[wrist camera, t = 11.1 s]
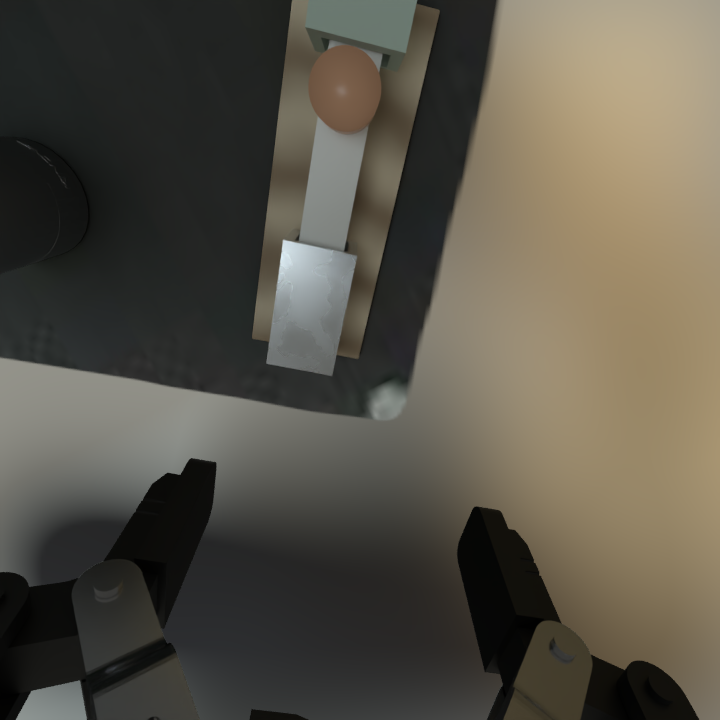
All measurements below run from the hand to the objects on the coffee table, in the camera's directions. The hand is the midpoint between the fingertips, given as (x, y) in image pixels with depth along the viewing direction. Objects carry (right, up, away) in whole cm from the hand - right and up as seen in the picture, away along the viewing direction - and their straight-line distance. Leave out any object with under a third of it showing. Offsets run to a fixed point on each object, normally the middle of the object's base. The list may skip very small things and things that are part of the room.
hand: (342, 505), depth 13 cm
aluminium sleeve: (-3, +10, +25) cm, 27 cm away
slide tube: (-1, +20, +19) cm, 28 cm away
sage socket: (+1, +27, +17) cm, 32 cm away
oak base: (-2, +18, +23) cm, 29 cm away
